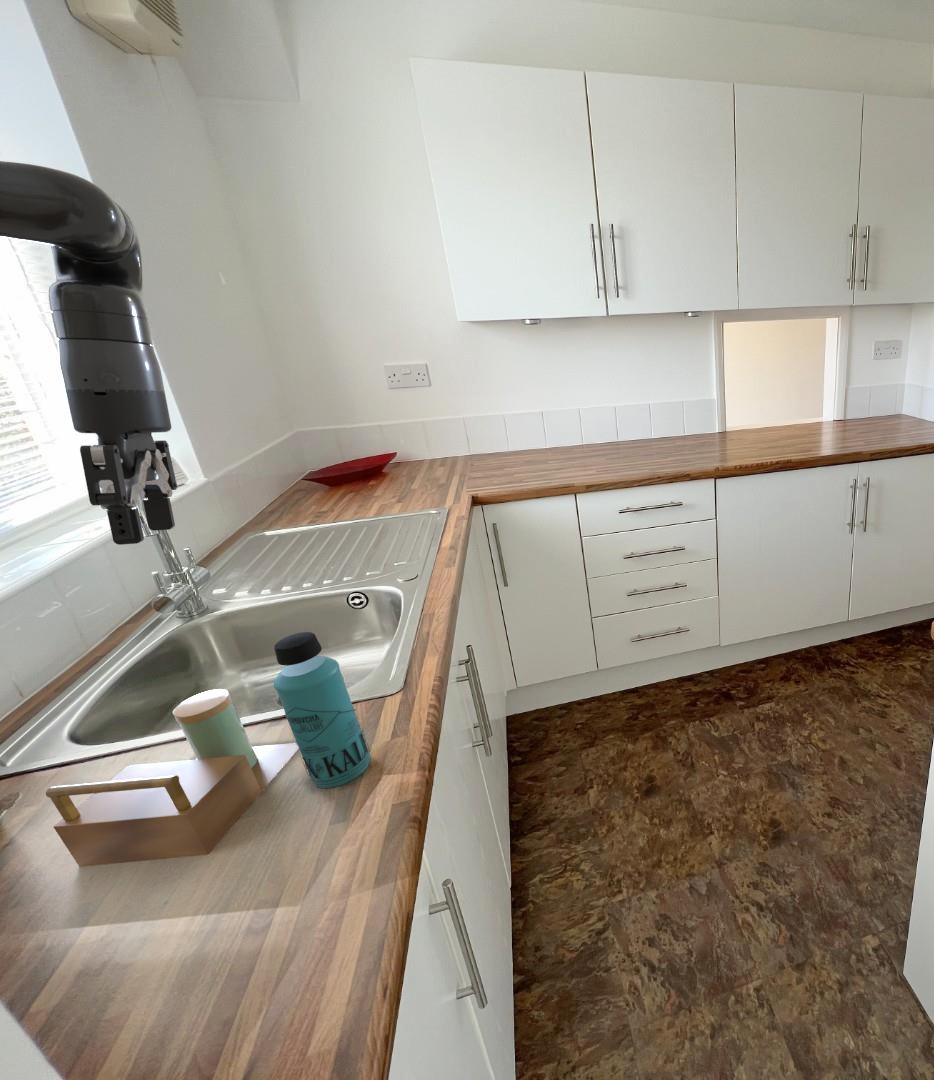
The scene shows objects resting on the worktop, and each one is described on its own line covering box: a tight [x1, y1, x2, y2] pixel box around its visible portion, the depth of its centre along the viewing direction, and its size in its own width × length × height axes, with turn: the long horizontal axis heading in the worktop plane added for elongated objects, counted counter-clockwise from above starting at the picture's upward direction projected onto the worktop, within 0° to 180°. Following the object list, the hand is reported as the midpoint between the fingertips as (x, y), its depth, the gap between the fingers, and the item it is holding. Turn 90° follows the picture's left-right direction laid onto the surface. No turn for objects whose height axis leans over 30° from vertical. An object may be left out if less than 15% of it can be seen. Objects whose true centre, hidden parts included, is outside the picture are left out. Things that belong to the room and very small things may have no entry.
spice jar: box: [172, 688, 257, 768], centre depth 71 cm, size 5×5×10 cm
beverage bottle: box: [273, 631, 372, 789], centre depth 68 cm, size 6×7×20 cm
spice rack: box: [45, 742, 300, 868], centre depth 67 cm, size 13×17×11 cm
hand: (146, 536), depth 65 cm, fingers open, 8 cm apart
